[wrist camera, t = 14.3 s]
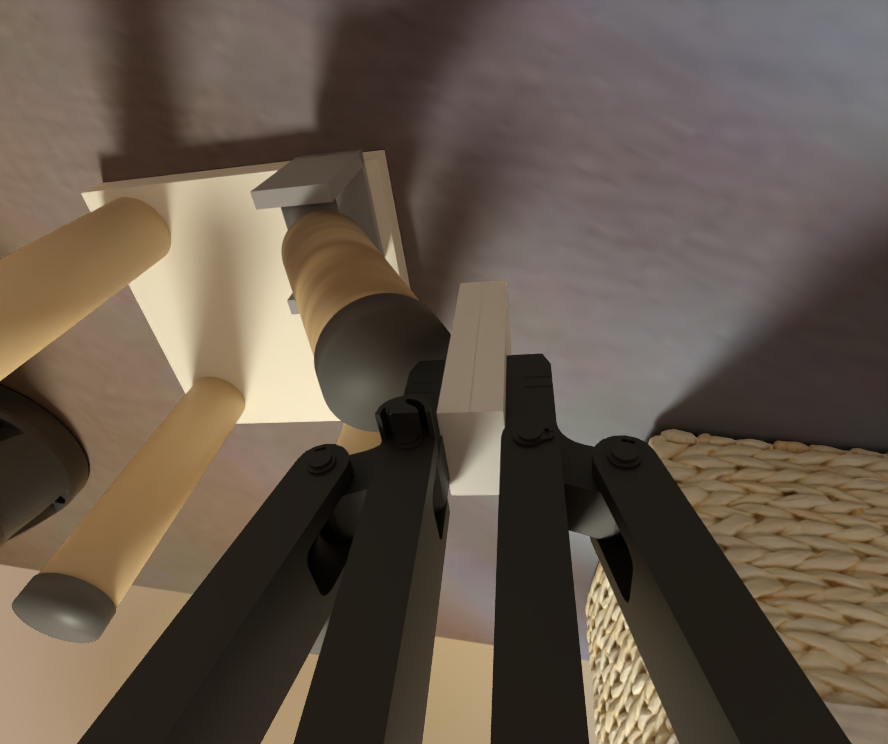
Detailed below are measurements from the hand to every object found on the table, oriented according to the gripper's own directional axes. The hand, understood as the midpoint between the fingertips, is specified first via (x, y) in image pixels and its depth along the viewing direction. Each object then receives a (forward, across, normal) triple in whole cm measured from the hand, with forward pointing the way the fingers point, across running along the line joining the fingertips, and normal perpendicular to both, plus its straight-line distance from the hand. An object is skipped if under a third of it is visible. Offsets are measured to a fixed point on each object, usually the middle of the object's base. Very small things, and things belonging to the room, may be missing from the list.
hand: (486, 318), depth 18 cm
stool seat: (+15, -15, -6) cm, 23 cm away
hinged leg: (+4, -4, 0) cm, 6 cm away
